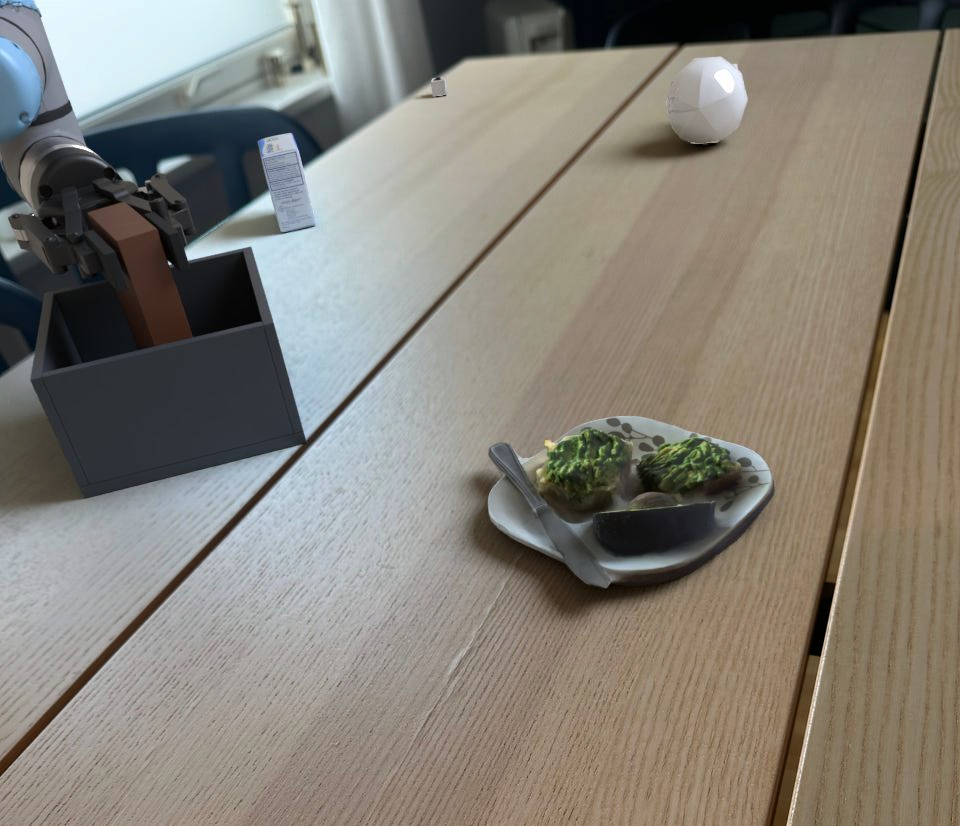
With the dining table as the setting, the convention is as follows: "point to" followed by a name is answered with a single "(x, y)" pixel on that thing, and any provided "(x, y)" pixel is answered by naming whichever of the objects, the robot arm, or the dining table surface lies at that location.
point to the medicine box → (286, 182)
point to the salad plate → (629, 499)
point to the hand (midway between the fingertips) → (148, 262)
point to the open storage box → (165, 379)
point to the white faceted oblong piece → (706, 100)
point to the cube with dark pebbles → (439, 86)
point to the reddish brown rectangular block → (143, 276)
